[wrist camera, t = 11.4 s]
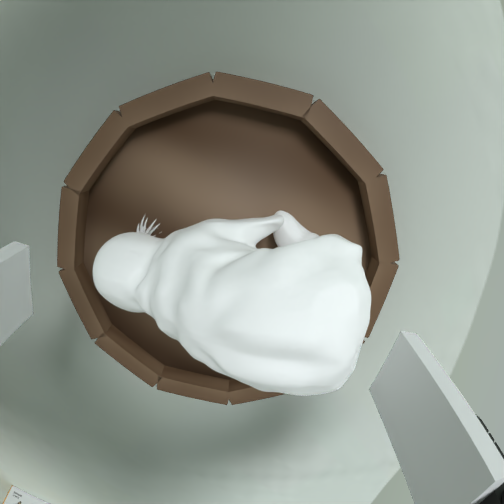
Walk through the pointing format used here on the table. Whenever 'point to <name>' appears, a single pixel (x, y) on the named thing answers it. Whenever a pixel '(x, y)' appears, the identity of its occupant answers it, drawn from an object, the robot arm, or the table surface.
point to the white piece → (248, 298)
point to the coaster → (215, 202)
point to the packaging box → (21, 497)
